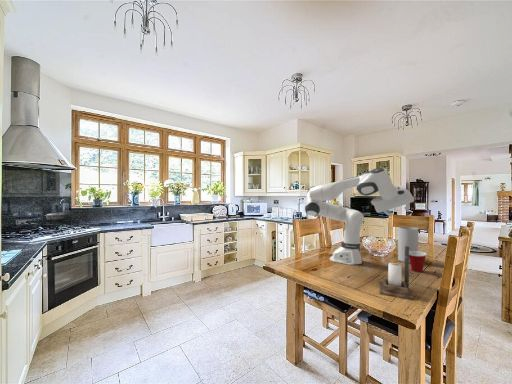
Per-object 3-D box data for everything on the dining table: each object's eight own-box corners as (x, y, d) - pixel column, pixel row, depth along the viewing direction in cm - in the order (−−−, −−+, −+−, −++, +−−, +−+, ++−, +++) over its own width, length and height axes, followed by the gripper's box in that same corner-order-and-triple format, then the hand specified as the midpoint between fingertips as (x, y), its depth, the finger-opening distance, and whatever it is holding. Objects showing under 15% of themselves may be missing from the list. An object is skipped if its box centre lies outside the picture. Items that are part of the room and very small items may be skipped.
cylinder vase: (416, 264, 163) (416, 230, 163) (396, 261, 172) (396, 228, 171) (419, 260, 172) (419, 227, 172) (400, 257, 181) (400, 226, 181)
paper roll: (388, 290, 119) (388, 265, 119) (387, 285, 125) (387, 262, 125) (402, 292, 117) (402, 266, 117) (400, 287, 122) (400, 263, 122)
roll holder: (380, 294, 118) (380, 249, 117) (379, 283, 130) (379, 243, 130) (412, 299, 111) (413, 252, 111) (408, 288, 124) (408, 246, 124)
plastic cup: (402, 268, 156) (402, 250, 156) (417, 267, 157) (417, 250, 157) (415, 274, 146) (415, 255, 145) (431, 273, 146) (431, 254, 146)
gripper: (370, 202, 134) (380, 221, 136) (408, 188, 123) (419, 209, 126) (369, 197, 139) (379, 216, 142) (406, 184, 129) (416, 204, 131)
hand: (398, 212), depth 134 cm, fingers open, 8 cm apart
